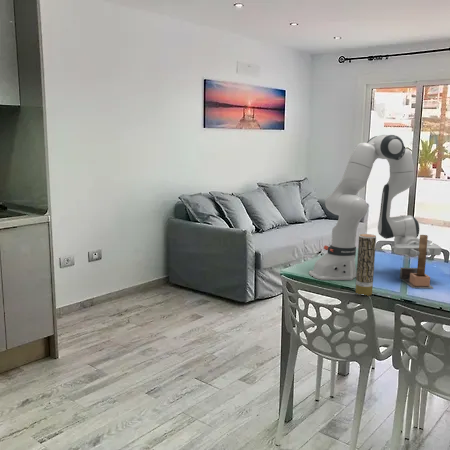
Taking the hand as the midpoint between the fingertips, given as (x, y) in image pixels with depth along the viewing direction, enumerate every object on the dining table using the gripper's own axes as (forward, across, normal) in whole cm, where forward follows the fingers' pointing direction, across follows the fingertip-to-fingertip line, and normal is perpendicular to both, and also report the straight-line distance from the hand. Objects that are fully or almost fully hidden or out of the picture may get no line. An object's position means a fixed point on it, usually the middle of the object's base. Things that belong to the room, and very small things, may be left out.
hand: (423, 253), depth 222 cm
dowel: (-1, 0, +12) cm, 12 cm away
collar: (-1, 0, +15) cm, 15 cm away
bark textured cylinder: (+14, -29, +15) cm, 35 cm away
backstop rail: (-4, 0, +15) cm, 15 cm away
